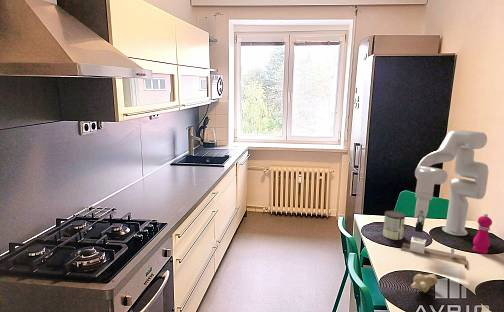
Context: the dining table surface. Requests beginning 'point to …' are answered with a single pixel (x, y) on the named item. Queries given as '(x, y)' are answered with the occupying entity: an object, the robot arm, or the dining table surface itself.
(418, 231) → the robot arm
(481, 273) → the dining table surface
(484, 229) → the pepper mill
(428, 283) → the beige lumpy piece
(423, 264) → the dining table surface
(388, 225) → the coffee can
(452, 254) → the shaft
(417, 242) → the white block
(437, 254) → the grey brown bent bar
